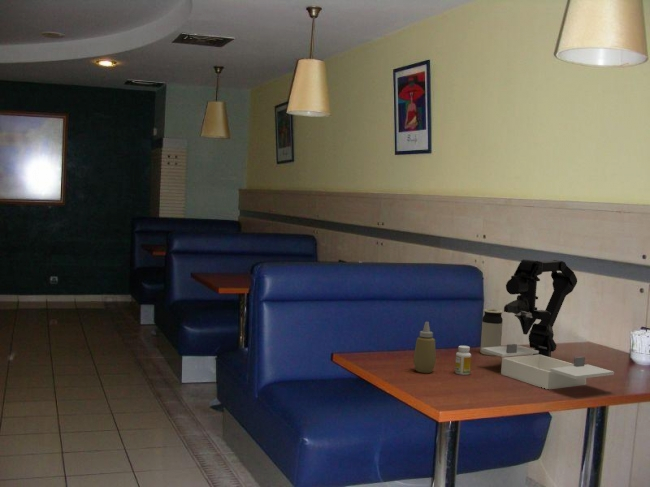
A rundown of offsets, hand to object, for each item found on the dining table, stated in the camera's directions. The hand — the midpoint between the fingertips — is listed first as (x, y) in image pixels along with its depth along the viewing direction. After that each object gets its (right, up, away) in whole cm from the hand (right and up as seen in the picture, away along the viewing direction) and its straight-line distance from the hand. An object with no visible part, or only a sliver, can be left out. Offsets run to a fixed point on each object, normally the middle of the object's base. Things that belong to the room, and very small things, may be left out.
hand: (525, 334), depth 277 cm
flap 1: (-6, -6, -1) cm, 9 cm away
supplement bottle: (-26, -13, -12) cm, 31 cm away
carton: (+2, -14, -15) cm, 21 cm away
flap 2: (+11, -9, -30) cm, 33 cm away
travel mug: (-8, -11, +25) cm, 28 cm away
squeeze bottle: (-40, -12, -12) cm, 43 cm away
